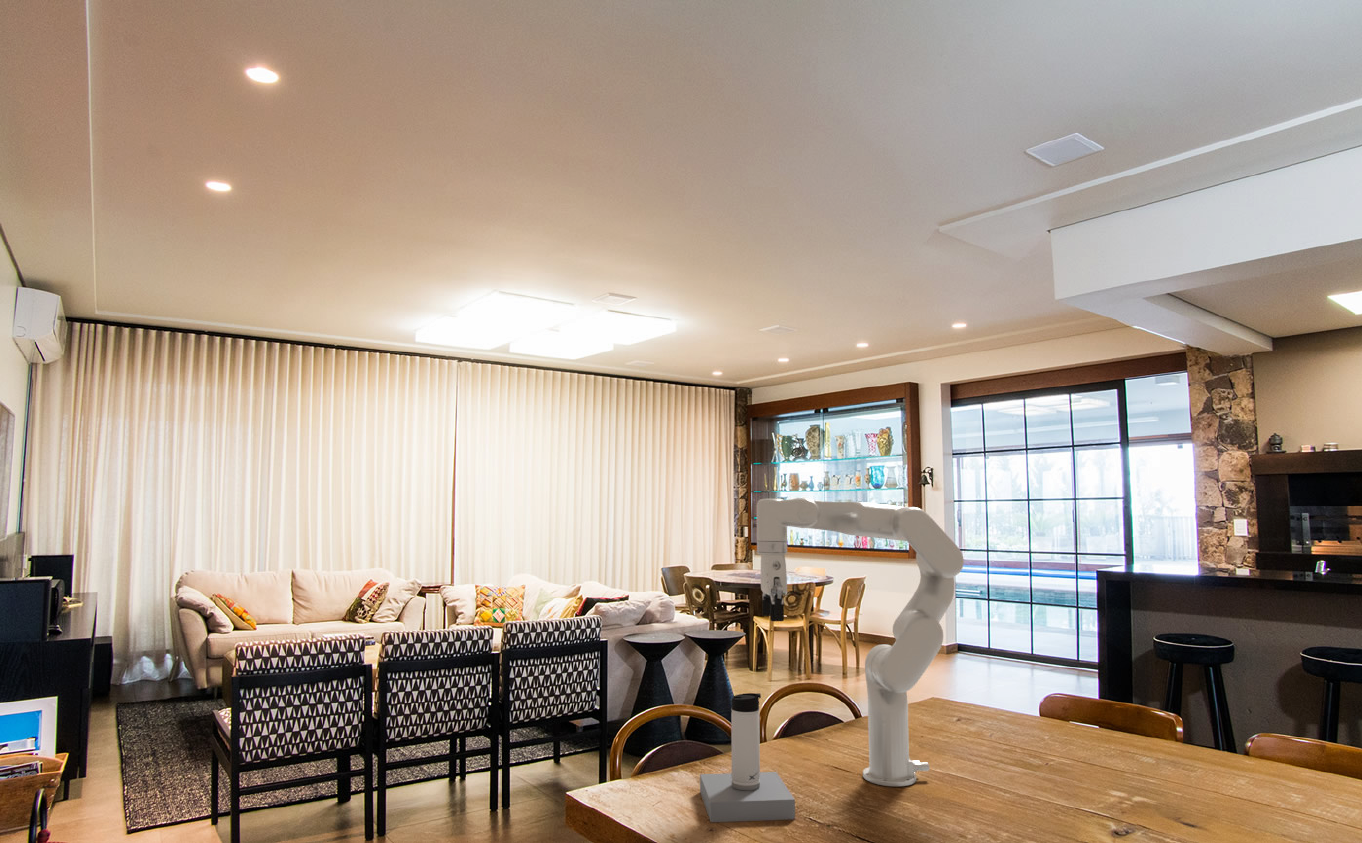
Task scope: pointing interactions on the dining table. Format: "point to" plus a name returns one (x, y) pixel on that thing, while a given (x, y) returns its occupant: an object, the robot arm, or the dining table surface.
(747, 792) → the plinth
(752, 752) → the travel mug
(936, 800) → the dining table surface
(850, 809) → the dining table surface
